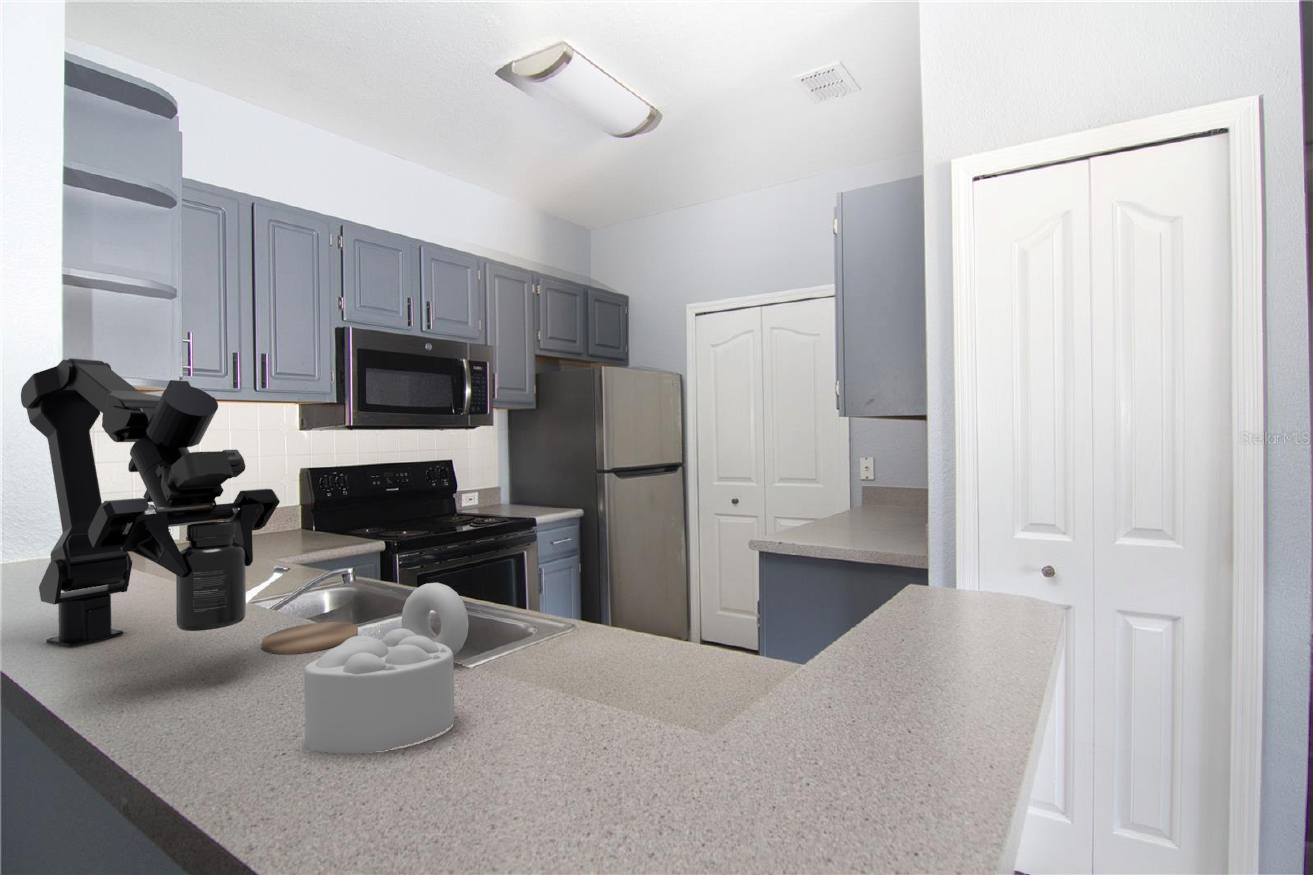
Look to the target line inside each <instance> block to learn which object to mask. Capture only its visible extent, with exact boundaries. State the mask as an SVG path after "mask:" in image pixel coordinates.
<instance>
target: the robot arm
mask: <svg viewBox="0 0 1313 875" xmlns="http://www.w3.org/2000/svg"><path fill="white" fill-rule="evenodd" d="M20 403H21V405H22V407H23V408H24V409H26V411H27V412H26V413H27V417H28V420H29V424H31V426H33V427H34V428H35V429H36V430H37V431H39V432H40V433H41V434H42V436H44V438H46V440H47V443H48V449H49V456H50V461H51V463H50V464H51V468H52V473H53V481H54V487H55V493H56V499H57V505H58V510H59V518H60V523H61V531H62V533H61V535H60V537H59V538H58V540H57V542H55V545H54V547H53V548H52V550H51V552H50V562H49V564H48V566H47V569H46V570H45V572H44V575H43V577H42V579H41V582H40V583H39V586H38V592H39V597H40V602H43V603H47V604H50V605H57V606H58V608H57V611H58V636H53V637H50V638H49V637H48V638H46V639H45V642H46V644H53V645H59V646H63V647H69V648H72V647H77V646H80V645H86V644H89V643H94V642H98V641H102V640H105V639H109V638H113V637H117V636H122V635H123V634H124V630H122V629H115V628H112V595H114V594H118V593H126V592H127V591H128V590H129V589H128V587H129V584H130V578H131V574H132V567H133V560H132V558H131V555H130V553H131V552H132V553H134V554H136V555H139V556H141V557H143V558H145V559H147V560H149V561H152V562H153V563H155V564H157V565H159V566H160V567H162V568H164V569H166V570H167V571H168V572H171V573H173V574H175V576H176V575H177V576H179V577H181V578H183V577H186V575H187V573H188V569H187V566H186V563H185V561H184V559H183V557H182V555H181V553H180V551H181V550H179V547H178V546H177V544H176V542H175V540H174V538H173V536H172V534H171V532H170V528H171V527H181V526H187V525H191V524H197V523H206V522H235V524H236V532H235V533H236V537H234V542H235V543H237V544H239V545H241V546H242V547H243V548H244V550H245V555H246V567H249V566H251V565H252V563H253V562H254V555H253V554H254V550H253V548H254V547H253V531H259V530H261V529H263V528H265V526H266V525H267V523H268V522H269V521H270V519H271V517H272V515H273V514H274V512H275V511H276V509H277V507H278V505H279V504H280V503H281V501H280V499H279V497H278V495H277V494H276V492H275V491H274V490H273V489H272V488H260V489H259V488H258V489H246V490H239V492H238V494H237V495H236V498H235V499H234V501H233V502H230V503H229V502H228V503H219V504H218V503H217V501H216V498H220V497H221V496H222V494H223V493H224V488H223V487H222V484H224V483H225V482H226V481H227V480H229V479H232V478H237V477H239V476H240V475H241V474H242V473H244V472H245V470H246V463H245V459H244V457H243V456H242V454H241V453H240V450H238V449H223V450H222V451H219V450H218V451H215V450H214V451H192V452H190V450H189V448H191V447H194V446H197V445H199V444H200V443H201V442H202V440H203V437H204V436H205V433H206V431H207V430H208V429H209V427H210V424H211V422H212V420H213V418H214V417H215V415H216V412H217V411H218V408H219V404H218V401H217V399H216V398H215V397H214V396H212V395H210V394H209V393H208V392H206V391H204V390H202V389H199V388H197V387H195V386H191V384H190V382H189V381H188V380H176V379H170V380H169V381H168V384H167V386H166V388H165V389H164V391H163V392H162V394H161V396H160V395H156V394H155V395H154V394H149V393H145V392H142V391H140V390H138V389H137V388H135V387H134V386H133V385H131V383H129V382H128V381H126V380H125V379H124V378H122V377H121V376H120V375H119V374H118V373H116V372H115V371H113V370H112V367H111V365H110V364H109V363H108V362H105V361H102V360H97V359H96V360H95V359H86V358H85V359H83V358H74V357H73V358H72V357H71V358H68V359H62V360H60V362H59V363H58V364H57V365H56V366H53V367H50V368H47V369H44V370H41V371H38V372H35V373H33V374H32V375H31V376H30V377H29V378H28V380H26V382H25V383H24V384H23V386H22V387H21V391H20ZM101 413H102V418H101V419H102V420H101V421H102V423H101V427H102V428H103V430H104V432H105V433H106V434H107V435H108V436H109V438H110V439H111V440H112V441H113V442H115V443H133V444H132V447H131V448H130V451H129V456H131V458H130V461H129V463H128V467H127V469H128V472H129V473H139V476H140V478H141V480H142V482H143V485H144V486H145V489H146V490H145V492H144V494H143V496H142V497H143V498H142V497H138V498H137V497H136V498H123V499H113V500H112V499H111V500H109V499H108V500H103V502H102V497H101V490H100V484H99V478H98V471H97V468H96V463H95V462H96V461H95V455H94V450H93V444H92V443H93V442H92V437H91V429H92V428H93V426H94V425H95V423H96V421H98V420H97V419H98V418H99V417H100V415H101ZM149 503H152V504H149ZM129 552H130V553H129Z"/></svg>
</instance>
